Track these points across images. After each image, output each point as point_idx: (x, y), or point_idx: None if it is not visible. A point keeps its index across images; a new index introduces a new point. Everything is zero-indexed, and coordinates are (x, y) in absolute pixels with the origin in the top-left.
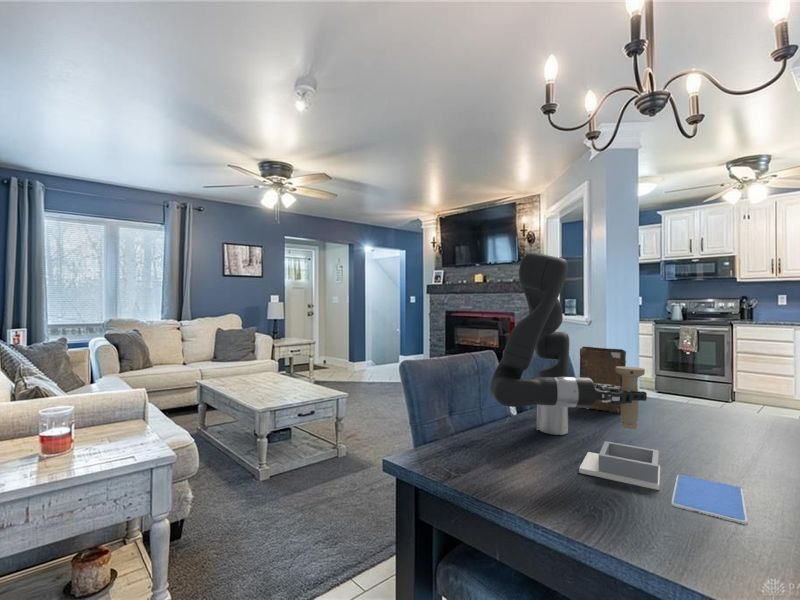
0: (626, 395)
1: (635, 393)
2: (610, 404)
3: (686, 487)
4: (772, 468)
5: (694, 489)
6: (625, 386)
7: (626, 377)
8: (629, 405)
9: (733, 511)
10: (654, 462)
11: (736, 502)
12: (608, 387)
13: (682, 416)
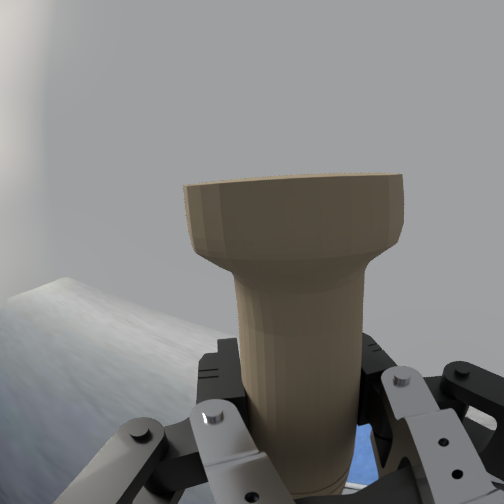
0: (455, 407)
1: (384, 362)
2: None
3: (362, 469)
4: (205, 341)
5: (367, 458)
6: (350, 367)
7: (358, 277)
8: (353, 453)
9: None
10: None
11: None
12: (467, 495)
13: (3, 328)
